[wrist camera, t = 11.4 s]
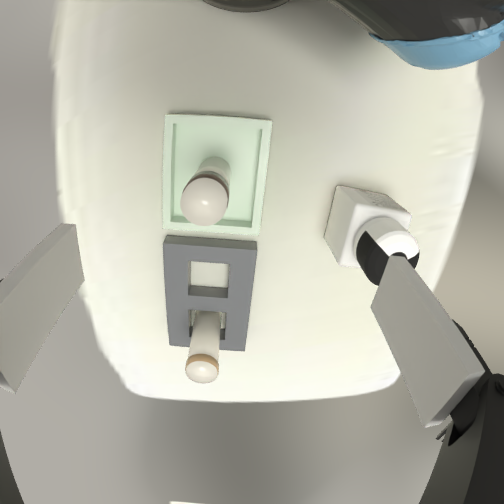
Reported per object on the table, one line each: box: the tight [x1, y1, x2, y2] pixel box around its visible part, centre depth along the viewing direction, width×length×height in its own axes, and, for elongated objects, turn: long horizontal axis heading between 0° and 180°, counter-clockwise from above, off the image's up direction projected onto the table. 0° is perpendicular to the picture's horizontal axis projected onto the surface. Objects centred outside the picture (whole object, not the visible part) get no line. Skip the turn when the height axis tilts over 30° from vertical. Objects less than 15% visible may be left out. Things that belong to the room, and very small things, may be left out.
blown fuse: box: [180, 157, 231, 226], centre depth 31 cm, size 4×4×12 cm
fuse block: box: [163, 235, 257, 351], centre depth 44 cm, size 18×12×2 cm, turn 174°
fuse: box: [185, 310, 221, 383], centre depth 42 cm, size 4×4×12 cm
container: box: [324, 186, 419, 286], centre depth 34 cm, size 8×8×13 cm
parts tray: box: [162, 114, 273, 236], centre depth 36 cm, size 14×12×2 cm
